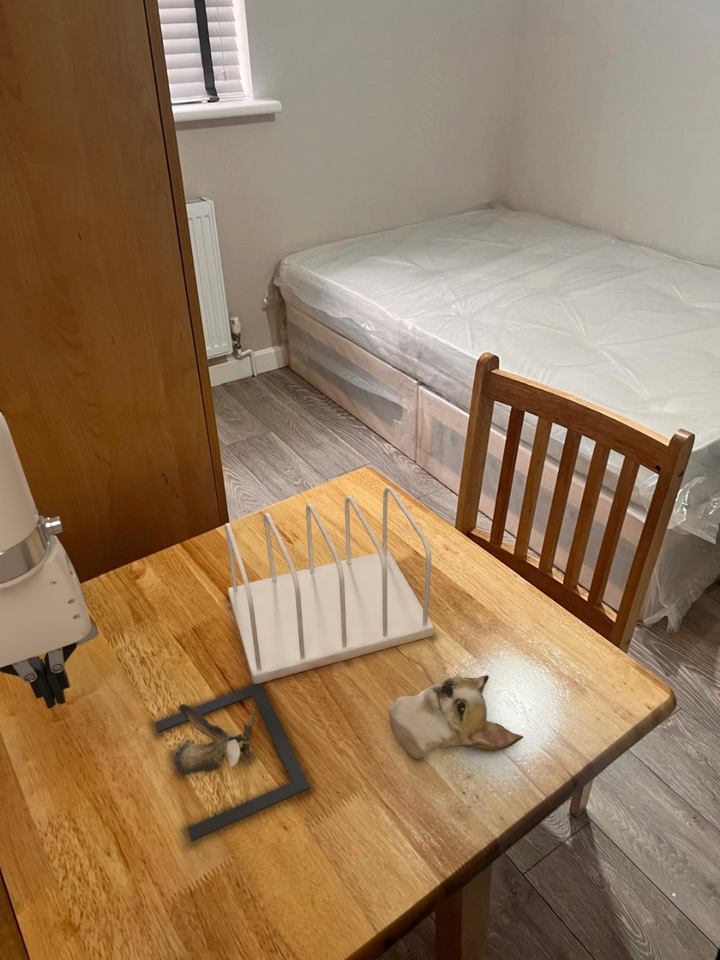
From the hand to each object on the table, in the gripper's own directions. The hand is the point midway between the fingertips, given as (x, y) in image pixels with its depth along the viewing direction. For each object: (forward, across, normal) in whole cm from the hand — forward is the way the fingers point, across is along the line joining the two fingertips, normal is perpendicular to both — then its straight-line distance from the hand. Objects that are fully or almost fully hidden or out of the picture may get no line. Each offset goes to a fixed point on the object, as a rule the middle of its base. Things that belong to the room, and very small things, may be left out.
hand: (55, 694), depth 69 cm
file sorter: (+19, -34, -15) cm, 42 cm away
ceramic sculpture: (+19, -39, +9) cm, 44 cm away
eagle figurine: (+19, -13, -1) cm, 24 cm away
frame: (+19, -14, 0) cm, 24 cm away
